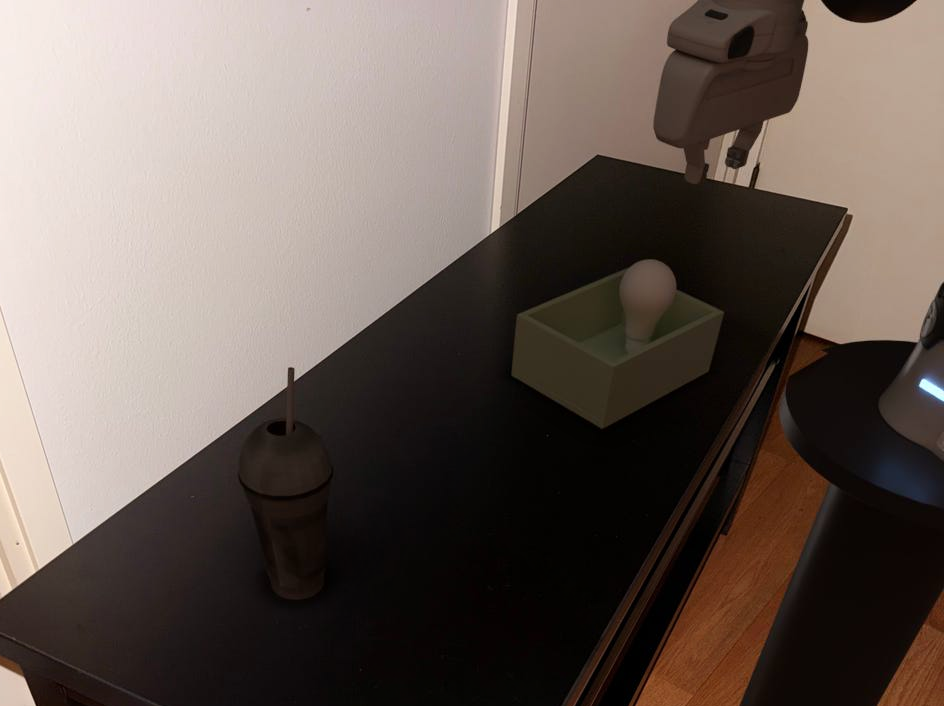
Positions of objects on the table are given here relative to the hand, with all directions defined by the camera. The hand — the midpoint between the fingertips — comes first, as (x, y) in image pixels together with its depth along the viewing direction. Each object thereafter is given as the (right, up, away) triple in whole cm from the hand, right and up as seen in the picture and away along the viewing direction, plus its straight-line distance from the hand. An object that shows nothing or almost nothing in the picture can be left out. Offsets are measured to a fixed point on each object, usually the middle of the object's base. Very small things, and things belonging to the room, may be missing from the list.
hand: (714, 173), depth 99 cm
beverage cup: (-41, -44, -18) cm, 63 cm away
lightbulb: (-7, -16, +9) cm, 20 cm away
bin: (-10, -19, +8) cm, 23 cm away
